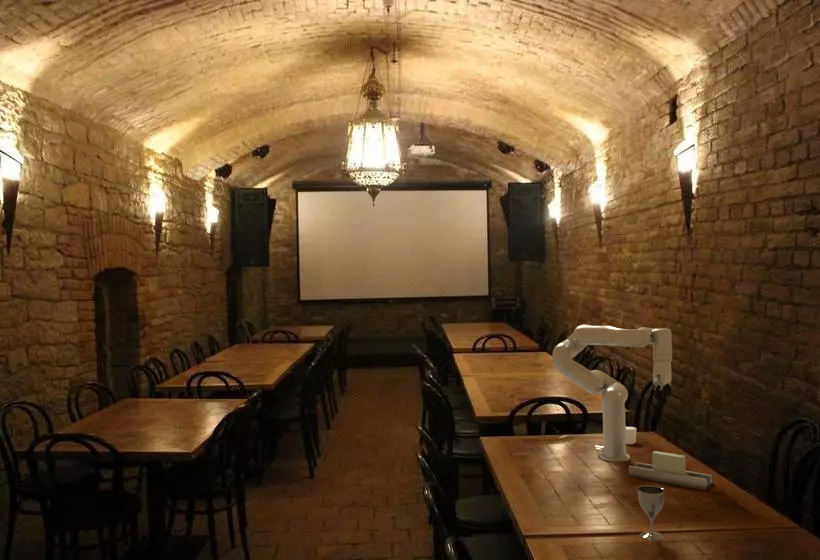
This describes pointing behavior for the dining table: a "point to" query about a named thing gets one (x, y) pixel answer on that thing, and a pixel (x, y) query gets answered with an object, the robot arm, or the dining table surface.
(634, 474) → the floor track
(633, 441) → the shot glass
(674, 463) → the door panel
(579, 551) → the dining table surface
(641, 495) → the wine glass
